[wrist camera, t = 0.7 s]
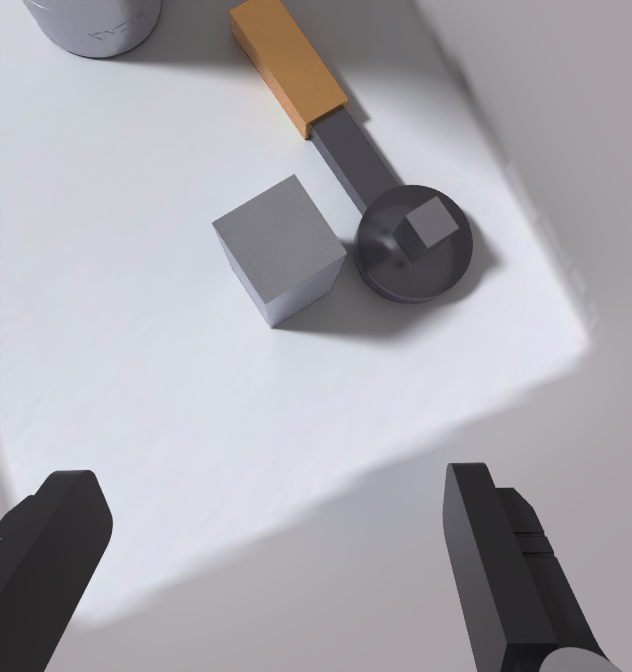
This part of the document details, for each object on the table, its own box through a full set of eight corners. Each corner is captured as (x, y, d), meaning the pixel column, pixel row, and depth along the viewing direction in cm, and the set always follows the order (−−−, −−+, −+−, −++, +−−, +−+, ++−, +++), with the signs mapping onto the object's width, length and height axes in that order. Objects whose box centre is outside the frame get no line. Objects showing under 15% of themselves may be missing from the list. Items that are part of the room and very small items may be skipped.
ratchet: (207, 46, 34) (191, -21, 28) (296, -2, 34) (298, -76, 29) (393, 324, 32) (416, 311, 27) (482, 266, 33) (521, 241, 28)
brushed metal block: (232, 269, 32) (211, 222, 23) (291, 233, 32) (294, 173, 23) (270, 328, 31) (265, 304, 22) (330, 290, 32) (347, 252, 23)
